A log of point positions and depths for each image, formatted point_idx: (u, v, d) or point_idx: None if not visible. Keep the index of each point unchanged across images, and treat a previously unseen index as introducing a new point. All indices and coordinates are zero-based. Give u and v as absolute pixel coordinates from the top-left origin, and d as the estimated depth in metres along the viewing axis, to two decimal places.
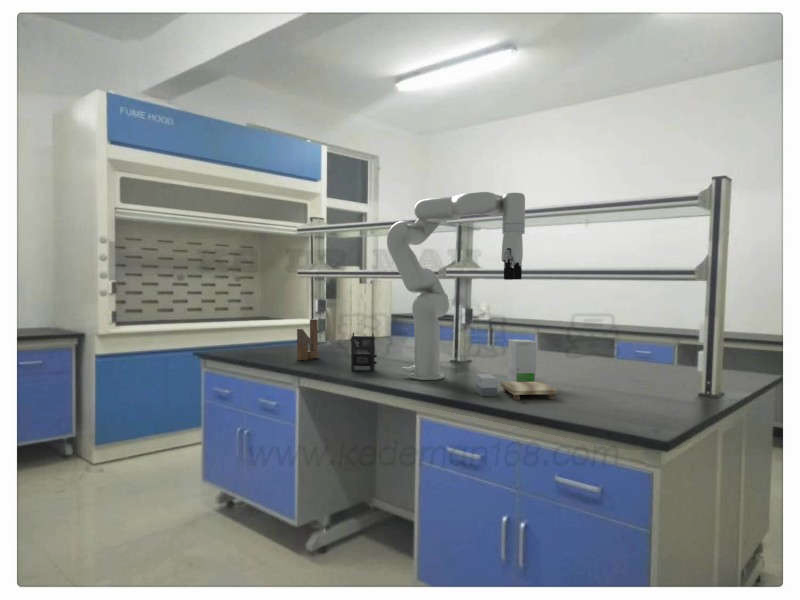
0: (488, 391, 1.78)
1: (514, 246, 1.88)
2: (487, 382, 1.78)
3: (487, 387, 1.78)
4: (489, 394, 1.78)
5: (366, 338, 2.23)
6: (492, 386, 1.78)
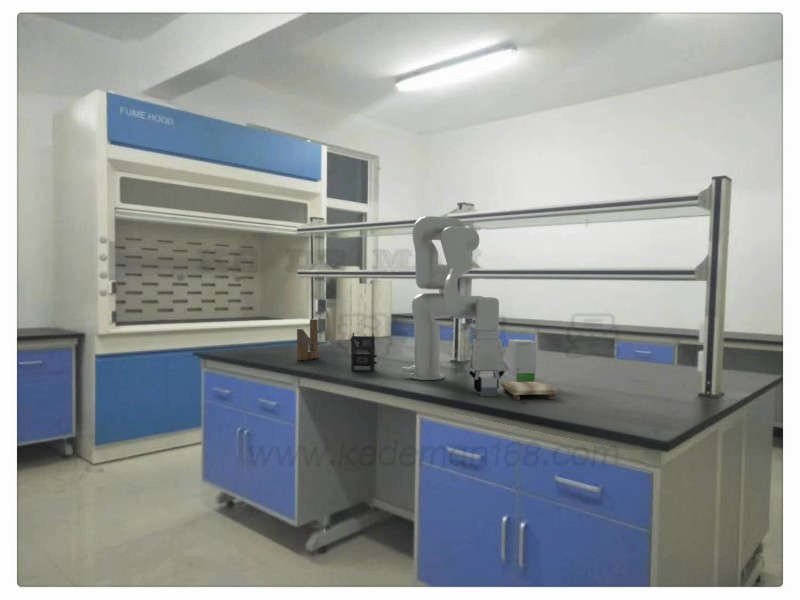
0: (488, 391, 1.78)
1: None
2: (487, 382, 1.78)
3: (487, 387, 1.78)
4: (489, 394, 1.78)
5: (366, 338, 2.23)
6: (492, 386, 1.78)
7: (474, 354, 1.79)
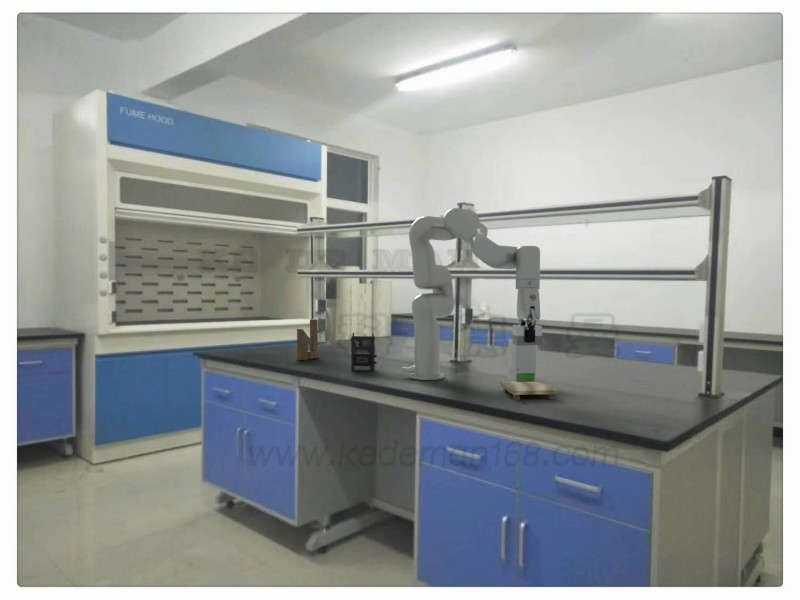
0: None
1: None
2: None
3: None
4: None
5: (366, 338, 2.23)
6: None
7: (539, 303, 1.75)
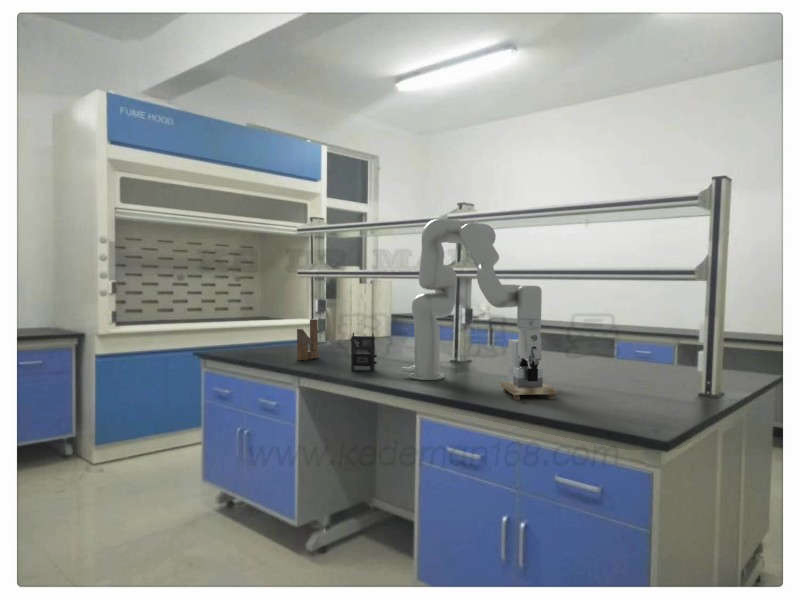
0: None
1: None
2: None
3: None
4: None
5: (366, 338, 2.23)
6: None
7: (540, 343, 1.76)
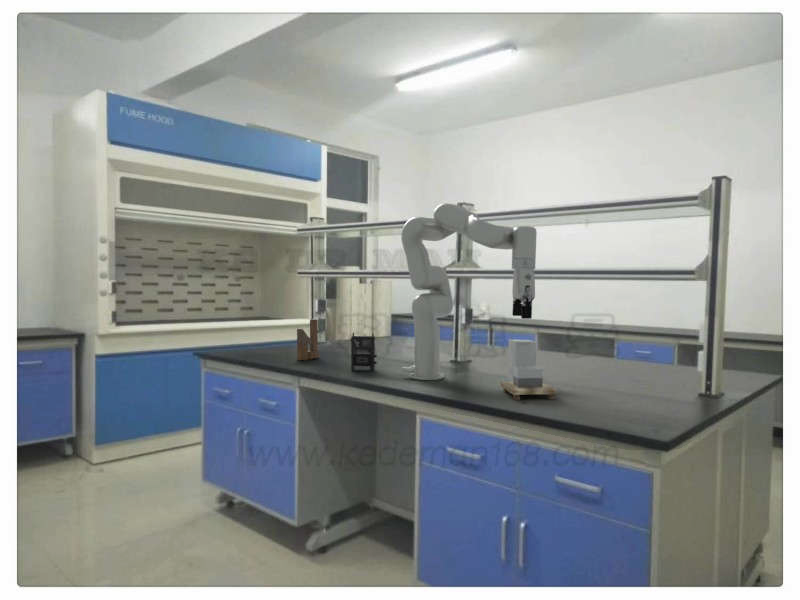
0: None
1: None
2: None
3: None
4: None
5: (366, 338, 2.23)
6: None
7: (534, 283, 1.78)
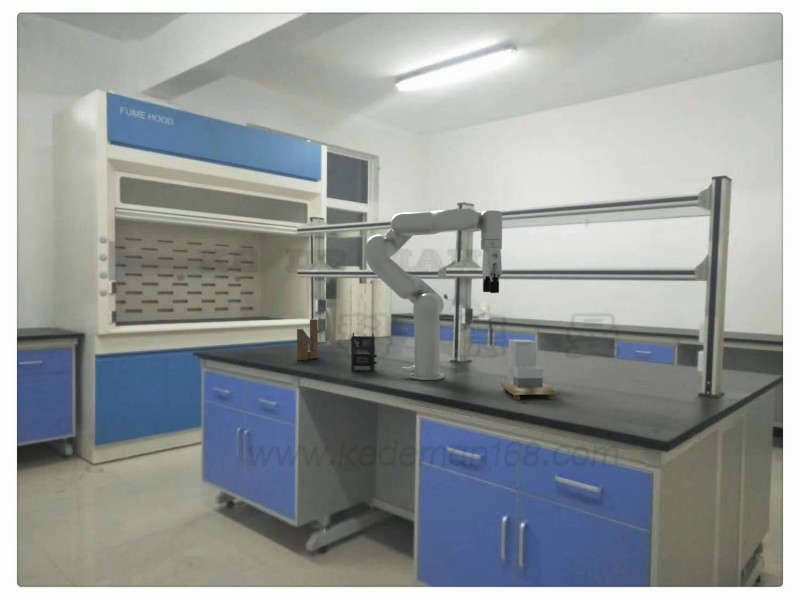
0: None
1: None
2: None
3: None
4: None
5: (366, 338, 2.23)
6: None
7: (500, 261, 1.99)
